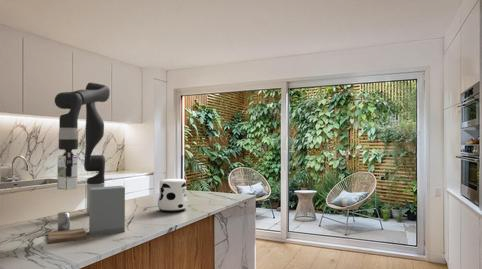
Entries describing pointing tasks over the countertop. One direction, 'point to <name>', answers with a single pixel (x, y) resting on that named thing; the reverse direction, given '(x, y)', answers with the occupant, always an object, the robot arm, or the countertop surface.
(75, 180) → the syrup box
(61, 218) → the metal cylinder
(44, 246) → the countertop surface
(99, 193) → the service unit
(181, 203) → the milk container
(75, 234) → the board
